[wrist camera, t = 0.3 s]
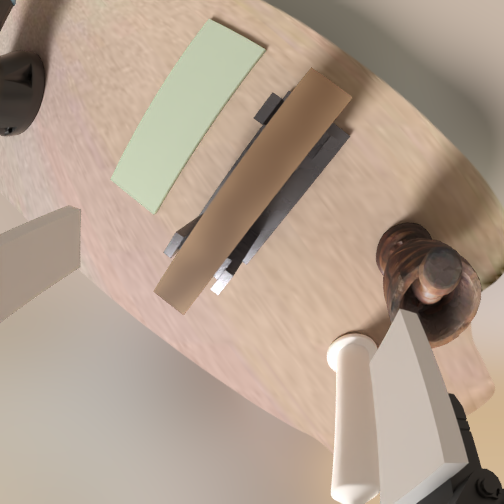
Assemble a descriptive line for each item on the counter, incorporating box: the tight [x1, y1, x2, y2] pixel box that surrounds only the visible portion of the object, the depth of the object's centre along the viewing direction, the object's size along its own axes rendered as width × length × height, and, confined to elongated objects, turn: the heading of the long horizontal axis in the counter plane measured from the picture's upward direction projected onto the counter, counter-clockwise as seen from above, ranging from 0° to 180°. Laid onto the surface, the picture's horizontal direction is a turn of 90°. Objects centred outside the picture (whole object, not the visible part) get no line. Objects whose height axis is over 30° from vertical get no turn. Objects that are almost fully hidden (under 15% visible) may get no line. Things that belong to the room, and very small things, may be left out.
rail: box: [153, 67, 353, 315], centre depth 24 cm, size 3×22×3 cm, turn 144°
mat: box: [110, 19, 266, 214], centre depth 34 cm, size 8×24×1 cm, turn 144°
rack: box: [163, 91, 350, 295], centre depth 30 cm, size 8×19×12 cm, turn 144°
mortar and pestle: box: [376, 223, 481, 348], centre depth 25 cm, size 12×9×20 cm
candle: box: [327, 333, 380, 504], centre depth 29 cm, size 7×7×25 cm
